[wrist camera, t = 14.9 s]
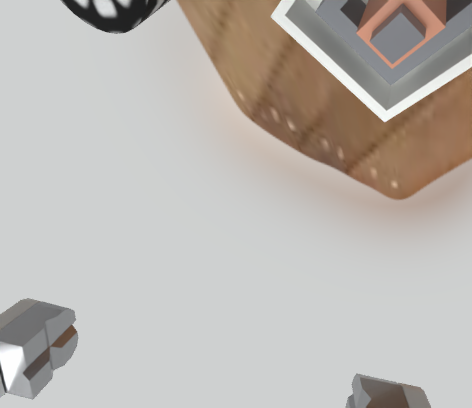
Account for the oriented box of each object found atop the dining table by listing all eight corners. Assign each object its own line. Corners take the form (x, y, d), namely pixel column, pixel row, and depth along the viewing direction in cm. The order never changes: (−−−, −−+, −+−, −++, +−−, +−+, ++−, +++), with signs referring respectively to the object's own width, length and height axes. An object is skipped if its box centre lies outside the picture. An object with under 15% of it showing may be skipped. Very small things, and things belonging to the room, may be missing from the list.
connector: (416, -61, 25) (404, -9, 18) (447, -25, 25) (445, 37, 19) (374, -16, 28) (352, 42, 22) (403, 15, 29) (389, 79, 23)
